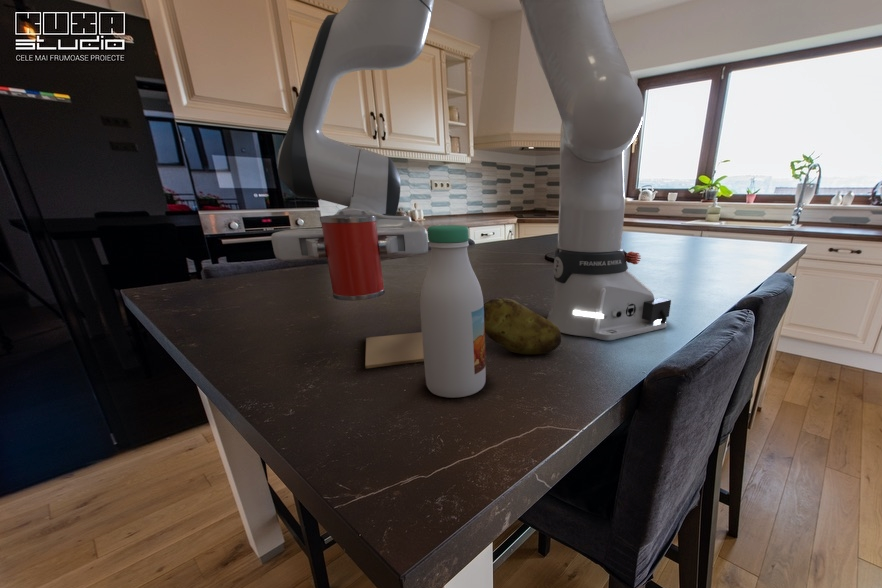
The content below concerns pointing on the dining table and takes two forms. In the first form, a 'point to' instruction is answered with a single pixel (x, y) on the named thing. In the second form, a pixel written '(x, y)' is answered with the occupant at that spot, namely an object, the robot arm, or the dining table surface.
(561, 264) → the robot arm
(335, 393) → the dining table surface
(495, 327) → the potato
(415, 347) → the cork mat
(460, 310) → the milk bottle
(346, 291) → the tomato tin
